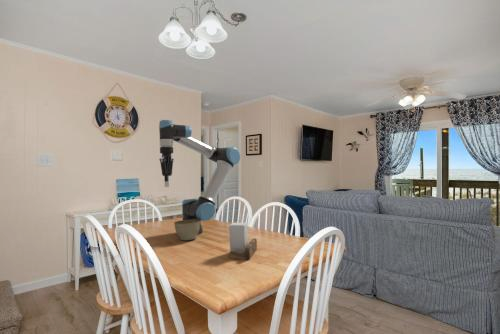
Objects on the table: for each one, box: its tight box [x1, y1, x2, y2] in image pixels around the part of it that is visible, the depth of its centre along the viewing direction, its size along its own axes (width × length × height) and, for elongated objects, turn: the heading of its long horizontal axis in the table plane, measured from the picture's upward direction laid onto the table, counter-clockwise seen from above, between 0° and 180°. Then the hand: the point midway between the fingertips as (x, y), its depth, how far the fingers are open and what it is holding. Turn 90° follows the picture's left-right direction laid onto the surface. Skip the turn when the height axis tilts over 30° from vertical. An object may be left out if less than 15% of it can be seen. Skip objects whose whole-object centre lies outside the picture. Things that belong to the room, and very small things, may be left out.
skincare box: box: [228, 222, 249, 252], centre depth 142 cm, size 8×7×16 cm
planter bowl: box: [174, 219, 202, 241], centre depth 172 cm, size 16×16×11 cm
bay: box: [228, 238, 258, 261], centre depth 142 cm, size 16×10×6 cm, turn 166°
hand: (167, 186), depth 162 cm, fingers closed
